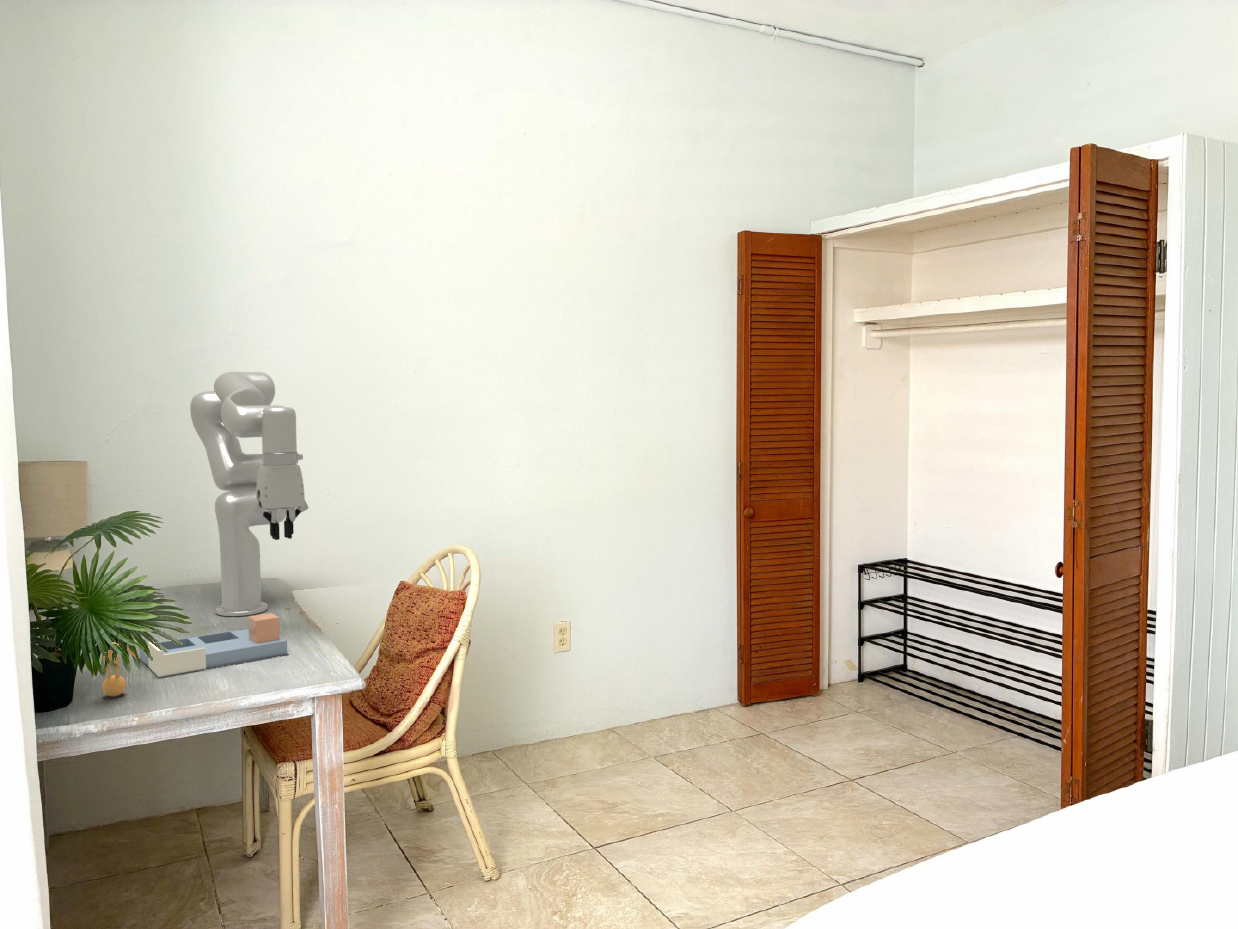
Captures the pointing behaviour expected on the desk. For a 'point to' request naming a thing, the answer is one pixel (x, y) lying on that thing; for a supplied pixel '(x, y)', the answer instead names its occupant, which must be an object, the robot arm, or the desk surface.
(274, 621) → the cube
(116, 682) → the figurine
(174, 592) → the desk surface
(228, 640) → the slotted holder block
